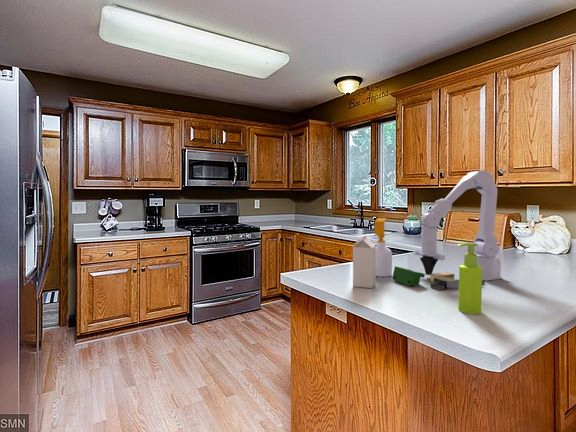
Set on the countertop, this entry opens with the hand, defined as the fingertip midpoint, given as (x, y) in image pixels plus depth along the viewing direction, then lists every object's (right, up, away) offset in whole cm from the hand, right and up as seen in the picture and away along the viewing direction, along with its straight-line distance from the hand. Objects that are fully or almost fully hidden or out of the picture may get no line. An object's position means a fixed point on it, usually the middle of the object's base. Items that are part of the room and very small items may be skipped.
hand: (428, 274), depth 140 cm
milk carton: (-30, -2, -12) cm, 32 cm away
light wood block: (+3, -2, -6) cm, 7 cm away
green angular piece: (-12, -2, -9) cm, 15 cm away
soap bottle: (-18, -1, +6) cm, 19 cm away
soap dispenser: (-6, -4, -41) cm, 42 cm away
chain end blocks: (+5, -2, -13) cm, 14 cm away
